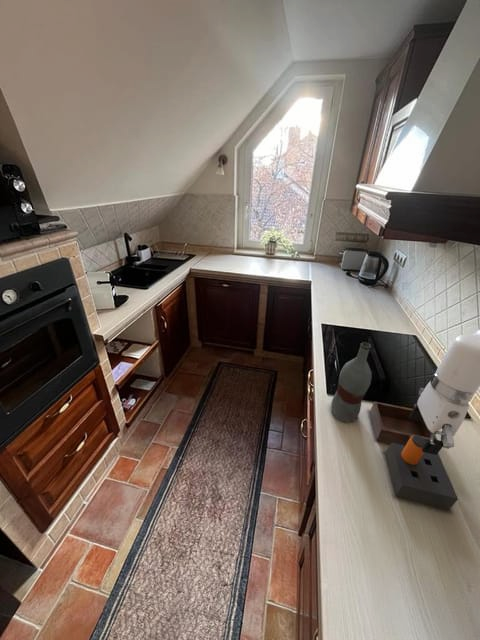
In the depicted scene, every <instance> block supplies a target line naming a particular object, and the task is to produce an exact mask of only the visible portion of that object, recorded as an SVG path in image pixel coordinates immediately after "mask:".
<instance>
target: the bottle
mask: <svg viewBox="0 0 480 640" xmlns="http://www.w3.org/2000/svg"><path fill="white" fill-rule="evenodd" d="M371 348H372V345H371V344H370V343H369V342H365V341H364V342H361V343H360V347H359V350H358V352H357V355H356V357H354V358H352V359H351V360H349V361H346V363H344V365H343V366H342V368H341V369H340V372H339V376H338V383H337V389H336V391H335V393H334V395H333V397H332V400H331V406H330V409H331V413H332V415H333V416H334V417H335V418H336V419H337V420H339V421H341V422H343V423H344V422H346V423H352V422H354V421H355V420H356V419H357V417H358V416H359V414H360V412H361V408H362V402H363V399H364V398H365V395H366V393H367V391H368V390H369V388H370V386H371V382H372V376H373V375H372V370H371V368H370V365H369V363H368V361H367V359H368V355H369V352H370V350H371Z"/></svg>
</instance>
